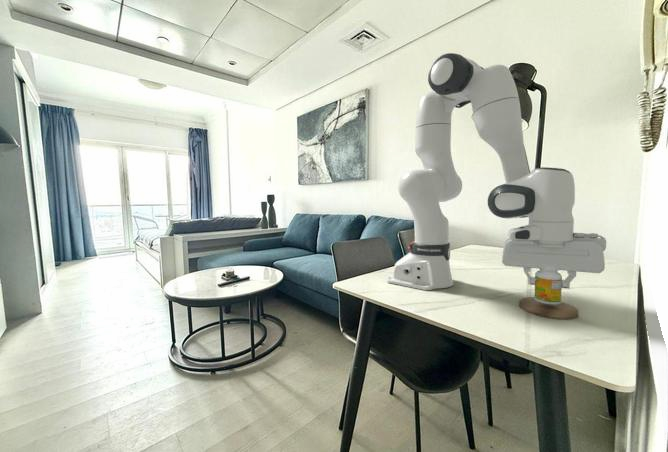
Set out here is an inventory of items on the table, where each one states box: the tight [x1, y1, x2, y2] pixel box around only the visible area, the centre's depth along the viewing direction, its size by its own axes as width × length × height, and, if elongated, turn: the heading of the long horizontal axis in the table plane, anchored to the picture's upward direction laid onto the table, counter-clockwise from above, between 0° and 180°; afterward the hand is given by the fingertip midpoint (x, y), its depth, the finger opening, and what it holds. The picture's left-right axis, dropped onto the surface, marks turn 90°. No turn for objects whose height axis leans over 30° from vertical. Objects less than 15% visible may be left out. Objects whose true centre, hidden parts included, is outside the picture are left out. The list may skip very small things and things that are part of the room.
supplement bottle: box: [533, 265, 563, 305], centre depth 69 cm, size 5×5×10 cm
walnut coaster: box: [518, 296, 580, 320], centre depth 70 cm, size 12×12×1 cm
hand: (547, 285), depth 70 cm, fingers closed on supplement bottle, 5 cm apart
